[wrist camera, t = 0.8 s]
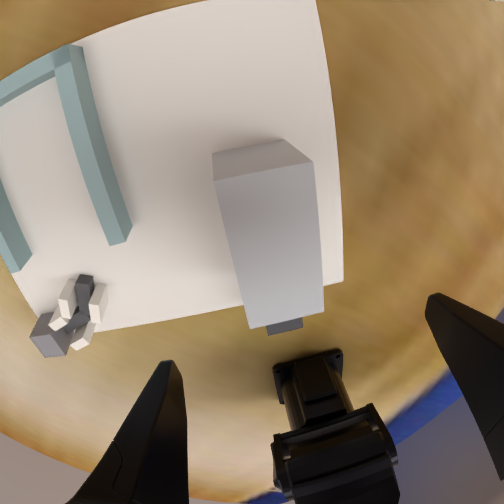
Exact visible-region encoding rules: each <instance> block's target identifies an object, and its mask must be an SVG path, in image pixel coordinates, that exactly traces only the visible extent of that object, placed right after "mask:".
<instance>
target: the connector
mask: <svg viewBox="0 0 504 504" xmlns="http://www.w3.org/2000/svg"><path fill="white" fill-rule="evenodd" d="M212 166H213V182H214V186H215V190H216V194H217V199H218V203H219V207H220V211H221V215H222V220H223V224H224V228H225V232H226V236H227V240H228V244H229V248H230V253H231V257H232V261H233V265H234V269H235V273H236V277H237V281H238V285H239V289H240V293H241V297H242V301H243V304H244V308H245V312H246V316H247V320H248V324H249V328H250V329H253V328H257V327H262V326H266V329H267V333H268V336H269V335H274V334H278V333H282V332H286V331H291V330H295V329H299V328H303V323H302V317H304V316H308V315H312V314H316V313H320V312H324V295H323V274H322V257H321V242H320V228H319V216H318V204H317V193H316V183H315V173H314V164H313V161H312V160H311V159H309V158H308V157H307V156H305V155H304V154H303V153H302V152H300V151H299V150H298V149H297V148H295V147H294V146H293V145H291V144H290V143H289V142H287V141H286V140H285V139H284V140H278V141H273V142H267V143H262V144H256V145H251V146H246V147H241V148H236V149H231V150H227V151H222V152H217V153H213V154H212Z"/></svg>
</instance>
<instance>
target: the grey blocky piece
mask: <svg viewBox="0 0 504 504" xmlns="http://www.w3.org/2000/svg"><path fill="white" fill-rule="evenodd" d="M75 284H76V291H77V298H78V305H79V306H77V307H76V308H75V311H74V313H73V315H72V318H71V319H69V322H68V324H66V325H65V326H63V327H62V328H60V329H58V330H57V331H54V330H53V329H52V328H51V327H50V326H49V325H48V324H49V322H50V320H51V318H52V316H53V314H54V312H50V313H45V314H41V315H40V317H39V319H38V321H37V323H36V325H35V327H34V329H33V331H32V333H31V335H30V339H31V340H32V341H33V343H34V344H35V345H36V347H37V348H38V349H39V351H40V352H41V353H42V355H43V356H44V357H45V358H47V357H57V356H66V354H67V351H68V348H69V345H70V342H71V340H72V337H73V334H74V332H75V331H74V330H75V329H77V328H78V327H80V326H82V325H83V324H85V323H87V322H88V321H90V320H91V318H90V311H89V301H90V299H91V296H92V294H93V292H94V279H93V276H90V275H83V274H80V275H79V277H78V279H77V280H76V282H75Z"/></svg>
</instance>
